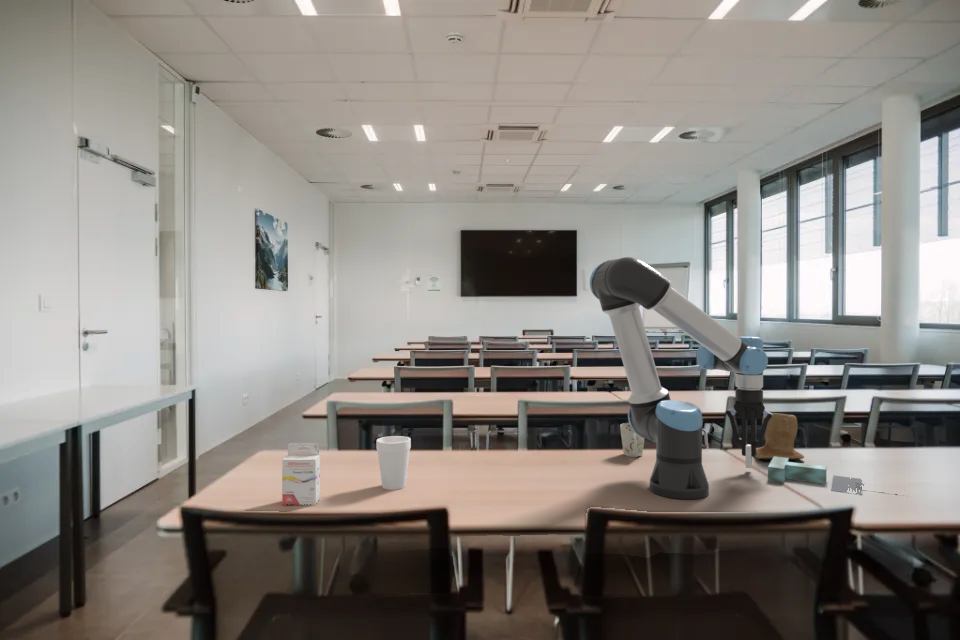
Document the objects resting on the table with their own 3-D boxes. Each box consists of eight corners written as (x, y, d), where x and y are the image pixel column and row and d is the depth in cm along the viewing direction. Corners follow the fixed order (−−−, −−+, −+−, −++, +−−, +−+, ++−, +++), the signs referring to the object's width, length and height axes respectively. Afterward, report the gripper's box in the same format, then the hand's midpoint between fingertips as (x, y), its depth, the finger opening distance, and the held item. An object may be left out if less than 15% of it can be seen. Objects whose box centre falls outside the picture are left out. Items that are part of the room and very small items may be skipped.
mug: (643, 452, 202) (643, 423, 202) (650, 461, 190) (650, 430, 190) (618, 451, 203) (618, 422, 203) (623, 461, 191) (623, 430, 190)
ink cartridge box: (281, 506, 149) (280, 447, 148) (287, 499, 154) (286, 443, 153) (316, 505, 149) (315, 447, 149) (320, 499, 154) (320, 442, 154)
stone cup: (790, 454, 199) (791, 409, 199) (809, 463, 187) (809, 415, 187) (744, 453, 200) (745, 409, 199) (760, 462, 188) (760, 415, 188)
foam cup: (378, 492, 159) (378, 444, 159) (375, 483, 168) (374, 437, 168) (413, 489, 162) (413, 442, 161) (408, 480, 170) (408, 435, 170)
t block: (767, 480, 169) (768, 466, 168) (773, 469, 180) (773, 456, 180) (824, 488, 161) (825, 473, 161) (827, 476, 173) (827, 462, 173)
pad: (831, 490, 159) (831, 490, 159) (833, 475, 173) (833, 475, 173) (909, 501, 150) (909, 501, 150) (904, 484, 164) (904, 484, 164)
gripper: (774, 388, 177) (774, 467, 177) (728, 385, 184) (727, 461, 184) (771, 391, 171) (771, 473, 171) (723, 388, 178) (723, 466, 178)
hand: (748, 466), depth 178 cm, fingers closed
